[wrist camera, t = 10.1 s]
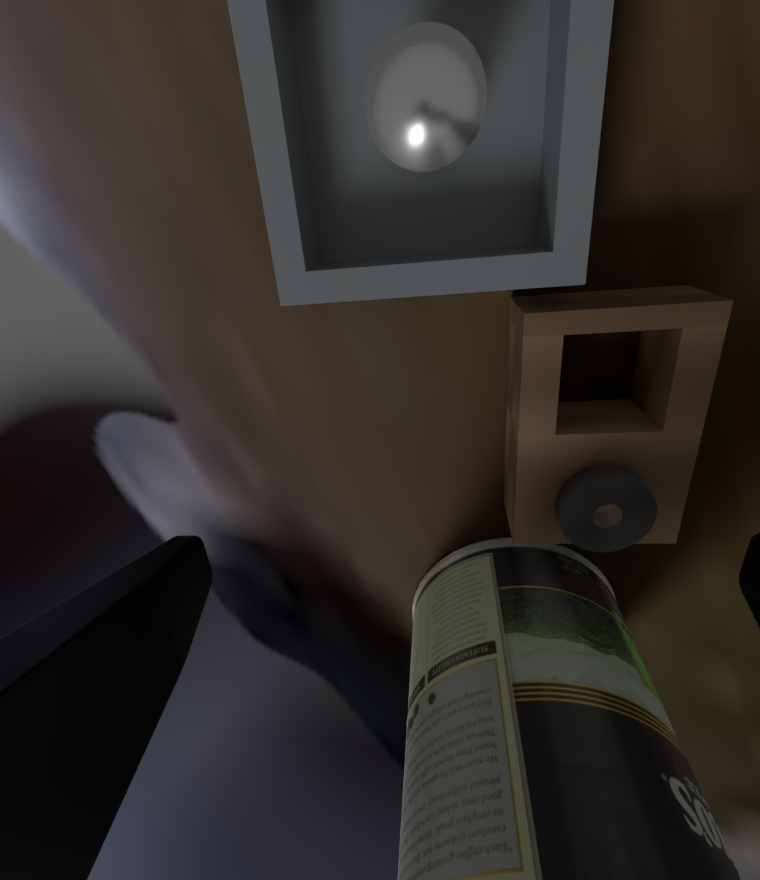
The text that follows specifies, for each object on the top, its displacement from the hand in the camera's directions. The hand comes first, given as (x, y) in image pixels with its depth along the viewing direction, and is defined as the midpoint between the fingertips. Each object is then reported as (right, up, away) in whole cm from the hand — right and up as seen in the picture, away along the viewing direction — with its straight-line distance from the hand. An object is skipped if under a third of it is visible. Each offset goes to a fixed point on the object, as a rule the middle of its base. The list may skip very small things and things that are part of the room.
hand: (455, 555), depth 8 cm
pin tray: (0, +12, +7) cm, 14 cm away
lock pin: (0, +12, +7) cm, 14 cm away
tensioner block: (+7, +3, +11) cm, 13 cm away
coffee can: (+5, -7, +17) cm, 19 cm away
